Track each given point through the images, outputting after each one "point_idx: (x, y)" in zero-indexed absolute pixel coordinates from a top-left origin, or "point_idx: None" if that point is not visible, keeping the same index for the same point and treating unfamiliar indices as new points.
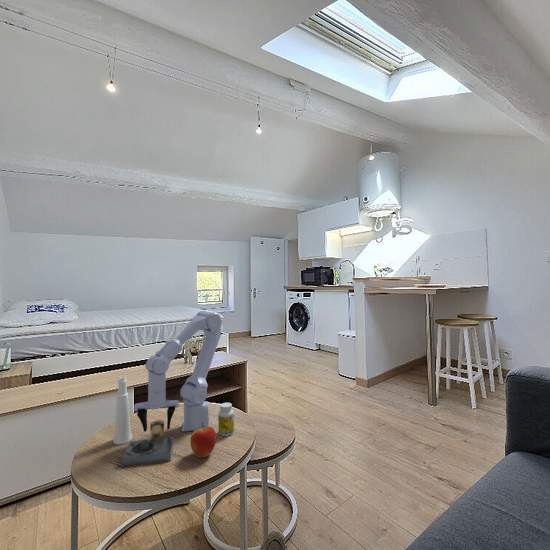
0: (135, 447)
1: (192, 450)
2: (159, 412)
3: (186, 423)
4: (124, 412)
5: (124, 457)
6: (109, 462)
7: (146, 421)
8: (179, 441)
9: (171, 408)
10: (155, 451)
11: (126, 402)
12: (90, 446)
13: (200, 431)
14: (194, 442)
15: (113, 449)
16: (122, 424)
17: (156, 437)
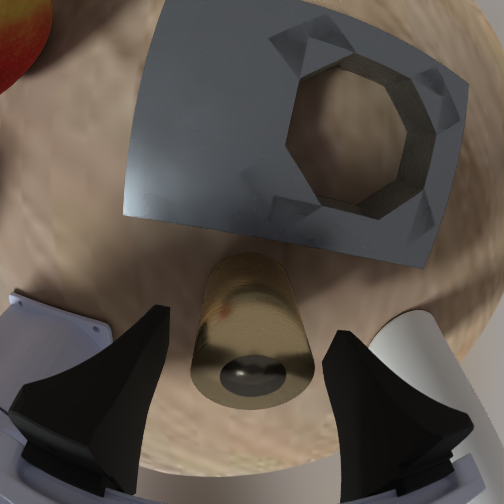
0: (402, 195)
1: (50, 5)
2: (232, 462)
3: (80, 355)
4: (475, 440)
5: (460, 81)
6: (476, 163)
7: (339, 404)
8: (112, 222)
9: (64, 461)
10: (280, 28)
11: (482, 494)
12: (480, 322)
13: None
14: None
15: (449, 275)
16: (457, 382)
17: (258, 273)
